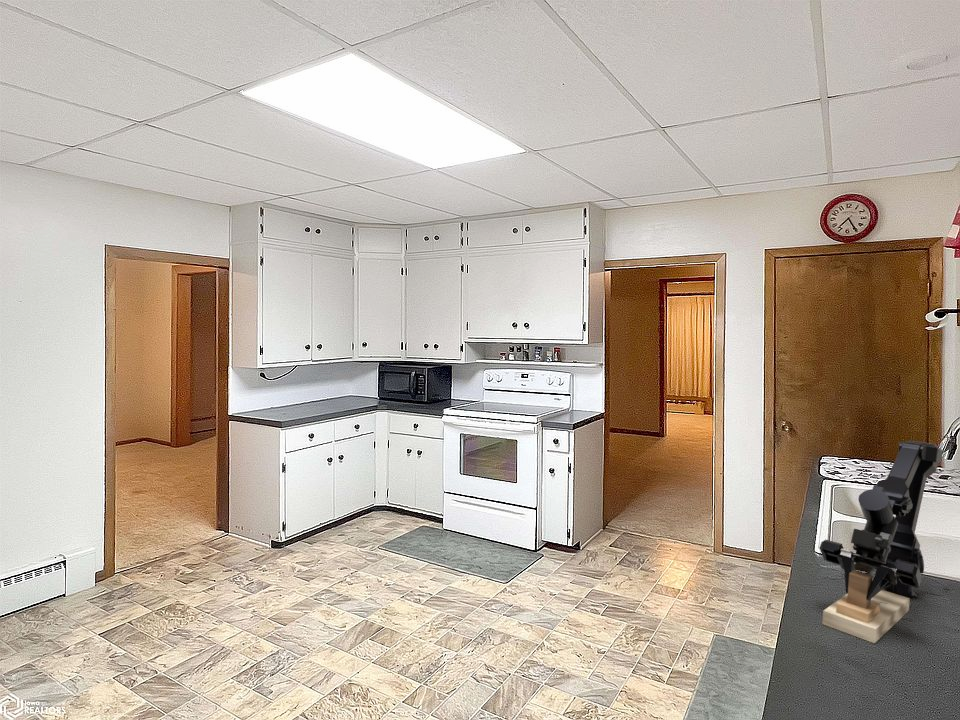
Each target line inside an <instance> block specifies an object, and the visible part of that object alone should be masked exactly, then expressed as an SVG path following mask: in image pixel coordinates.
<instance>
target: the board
mask: <svg viewBox="0 0 960 720" xmlns="http://www.w3.org/2000/svg"><path fill="white" fill-rule="evenodd" d="M846 596H848V594H847V593H846V594H844V595H843V596H842V597H841V598H839V599H837V600H836V601H835V602H833V603H832V604H830V605H829V606H828V607H826V608H825V609H824V610H822V621H821V622H822V623H821V625H824V626H827V627H828V628H832V629H835V630H837V631H840V632H842V633H845V634H848V635H850V636H854V637H857V638H858V639H862V640H864V641H867V642H869V643H872V644H876V643H877V642H878V641H879V640H881V638H882V637H883V636H884V635H885V634H887V632H889V630H891V628H893V626H895V625H896V623H898V622H899V621H900V620H901V619H902V618H903V617H905V615H906V614H907V613H908V612H909V611H910V600H911V597H908V596H902V595H897V594H894V593H891V592H887V591H885V590H884V589H882V590H881V591H880V592H879V593H877V594H876V595H875V596H874V597H873V598H871V601H874V602H877V603H880V613H879V614H878V615H876V616H875V617H874V618H873V619H872V620H871V621H869V622H868V623H865V622H862V621H859V620H857V619H854V618H851V617H848V616H845V615H842V614H839V613H837V612H836V607H837V603H838V602H839V601H841V600H842V599H843V598H845V597H846Z"/></svg>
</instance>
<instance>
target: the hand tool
mask: <svg viewBox="0 0 960 720" xmlns="http://www.w3.org/2000/svg"><path fill="white" fill-rule="evenodd" d="M854 566H855V569H856V570H860V571H865V572H868V573H869V572H870V570H871V568H872V567H869V566H866V565H862V564H859V563H855V564H854Z"/></svg>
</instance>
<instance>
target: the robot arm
mask: <svg viewBox="0 0 960 720" xmlns="http://www.w3.org/2000/svg"><path fill="white" fill-rule="evenodd" d="M942 461H943V450H942V449H941V448H938V445H937V444H936V443H929V442H921V441H916V440H907V441H900V442H898V449H897V455H896V458H895V460H894V462H893V464H892V466H891V468H890V470H889V473H888V475H887V477H886V478H885V479H882V480H881V481H878V482H876V485H873V487H872V489H866V490H864V491H863V492H862V493H860V494H859V495H858V504H859V507H860V509H861V513H862V516H863V517H864V520H865V521H866V522H865V526H864V528H863V529H857V528H854V529H853V530H852V531H853V532H852V536H851V540H850V544H853V546H852V549H853V550H854V551H855V553H854V552H853V551H851V550H849V549H847V548H846V549H845V548H844V546H843V544H842V543H840V542H837V541H833V540H829V539H824V540H822V541H821V542H820V545H819V551H820V553H821V556H822V558H823V560H824V561H826V562H827V563H831V564H834V565H837V566H840V568H841V569H842V570H843V571H844V584H845V585H844V586H845V593H846V594H848V583H849V573H850V572H852V571H853V570H856V569H855V566H854V564H855V563H859V564H862V565H866V566H869V567H871V568H874V569H876V570H875V574H874V577H873V578H872V583H871V585H870V587H869V590H868V593H867V596H866V599H867V600H870V599H871V598H873V597H874V596H875V595H876V594H877V593H879V592H880V591H881V590H884V591H887V592H891V593H894V594H897V595H900V596H904V597H907V598H915V599H917V598H918V595H917V594H916V593H915V591H914V589H913V588H915V589H919V588H920V586H921V582H922V574H924V572H925V562H924V557H923V554H922V550H921V549H920V548H921V543H920V541H919V539H918V537H917V535H916V528H917V524H918V519H919V515H920V510H921V506H922V505H921V504H922V502H923V501H922V500H923V495H924V492H925V487H926V481H927V479H928V478H929V477H930V476H932V475H933V474H934V473H935V472H937V470H938V467H939V466H938V465H939V464H941V463H942Z"/></svg>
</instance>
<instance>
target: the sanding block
mask: <svg viewBox="0 0 960 720" xmlns="http://www.w3.org/2000/svg"><path fill="white" fill-rule="evenodd" d="M873 579H874V577H873V575H872V574H869V573H867V574H866V573H862V572H859V571H856V570H853V571H852V572H850V573H849V583H848V596H846V597H845V598H843V599H842V600H841V601H839V602H838V603H837V607H836V612H837V613H839V614H842V615H845V616H848V617H851V618H854V619H857V620H859V621H862V622H865V623H868V622H869V621H871V620H872V619H873V618H874V617H875V616H876V615H878V614H879V613H880V603H877V602H874V601H871V599H870V600H867V599H866V596H867V593H868V590H869V587H870V585H871V583H872V581H873Z"/></svg>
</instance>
